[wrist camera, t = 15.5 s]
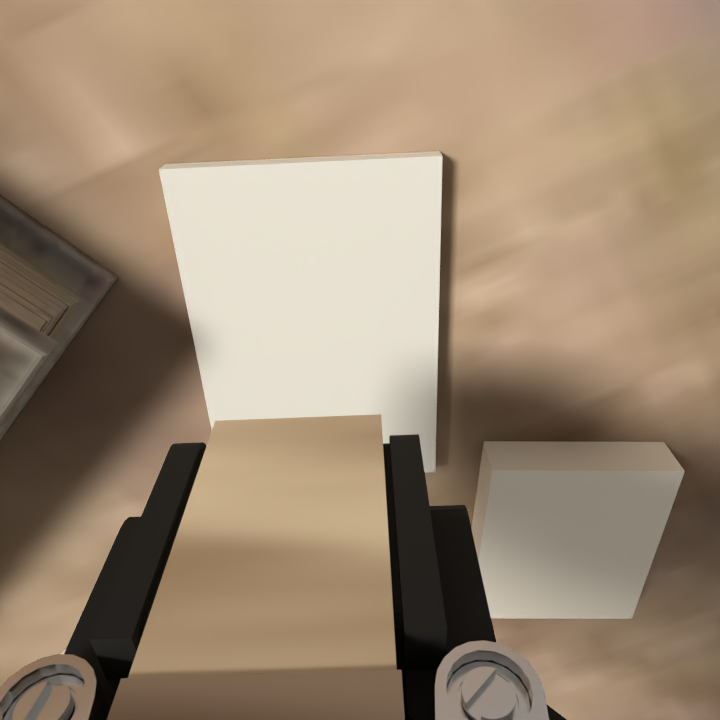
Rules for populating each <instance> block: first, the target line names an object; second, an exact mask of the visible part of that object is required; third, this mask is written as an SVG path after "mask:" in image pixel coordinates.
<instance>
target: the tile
mask: <svg viewBox="0 0 720 720" xmlns="http://www.w3.org/2000/svg"><path fill="white" fill-rule="evenodd" d="M684 472H685V471H684V469H683V468H682V467H681V465H680V464H679V462H678V461H677V460H676V458H675V457H674V455H673V454H672V453H671V451H670V450H669V448H668V447H667V446H666V444H665V443H664V442H535V441H484V444H483V451H482V458H481V465H480V472H479V479H478V486H477V493H476V500H475V507H474V514H473V521H472V529H471V530H472V534H473V539H474V543H475V548H476V552H477V557H478V562H479V566H480V571H481V575H482V580H483V584H484V589H485V594H486V598H487V603H488V607H489V612H490V616H491V618H565V619H632V617H633V614H634V611H635V609H636V606H637V603H638V600H639V597H640V595H641V592H642V589H643V586H644V584H645V581H646V578H647V575H648V572H649V570H650V567H651V564H652V561H653V559H654V556H655V553H656V550H657V547H658V545H659V542H660V539H661V536H662V534H663V531H664V528H665V525H666V522H667V520H668V517H669V514H670V511H671V509H672V506H673V503H674V500H675V497H676V495H677V492H678V489H679V486H680V483H681V481H682V478H683V475H684Z"/></svg>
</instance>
